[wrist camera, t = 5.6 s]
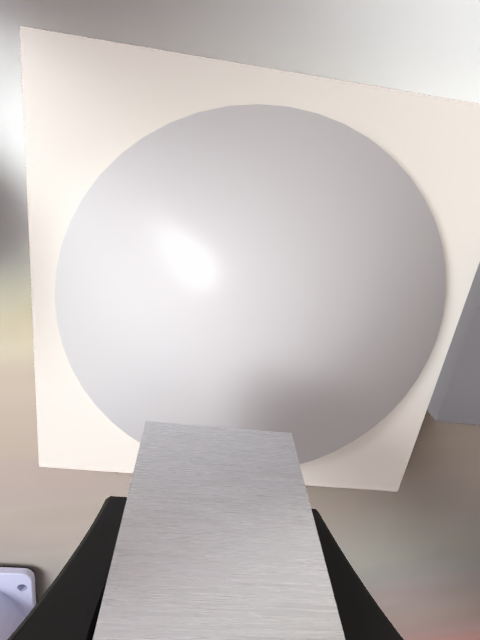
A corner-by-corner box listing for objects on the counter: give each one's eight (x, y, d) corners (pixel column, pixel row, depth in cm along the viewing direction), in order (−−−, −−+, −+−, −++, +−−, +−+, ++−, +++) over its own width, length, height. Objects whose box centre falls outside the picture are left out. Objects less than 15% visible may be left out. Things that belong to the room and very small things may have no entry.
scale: (438, 471, 22) (463, 509, 20) (52, 442, 20) (32, 480, 18) (573, 127, 16) (631, 125, 14) (40, 37, 14) (7, 18, 12)
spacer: (268, 537, 14) (305, 818, 8) (138, 530, 13) (82, 820, 8) (291, 432, 12) (357, 687, 6) (145, 421, 12) (82, 681, 6)
